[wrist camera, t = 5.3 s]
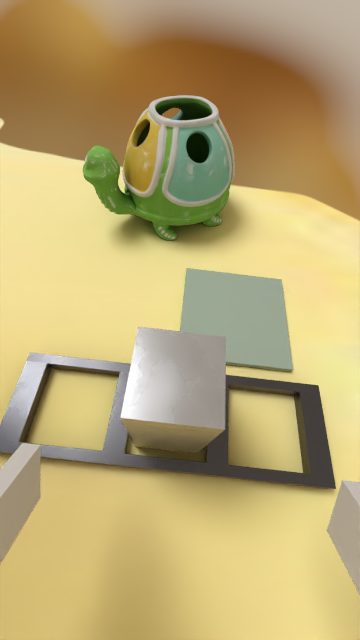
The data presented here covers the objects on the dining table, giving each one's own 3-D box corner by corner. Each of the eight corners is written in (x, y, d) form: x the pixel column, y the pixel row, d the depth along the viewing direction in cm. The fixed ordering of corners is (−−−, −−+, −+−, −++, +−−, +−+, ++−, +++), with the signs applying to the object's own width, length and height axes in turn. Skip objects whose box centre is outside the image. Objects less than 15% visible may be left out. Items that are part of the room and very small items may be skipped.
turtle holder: (82, 199, 38) (54, 92, 28) (200, 174, 43) (213, 76, 33) (110, 263, 32) (89, 160, 22) (241, 226, 37) (273, 128, 27)
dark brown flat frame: (-3, 452, 22) (-11, 450, 21) (35, 357, 26) (30, 352, 25) (327, 488, 22) (335, 488, 21) (312, 389, 26) (318, 385, 25)
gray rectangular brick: (196, 453, 23) (224, 429, 13) (135, 446, 23) (120, 417, 13) (200, 392, 25) (225, 336, 16) (145, 386, 25) (138, 326, 16)
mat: (290, 371, 27) (292, 369, 26) (177, 358, 27) (177, 356, 26) (279, 282, 33) (281, 279, 32) (186, 271, 32) (186, 268, 32)
